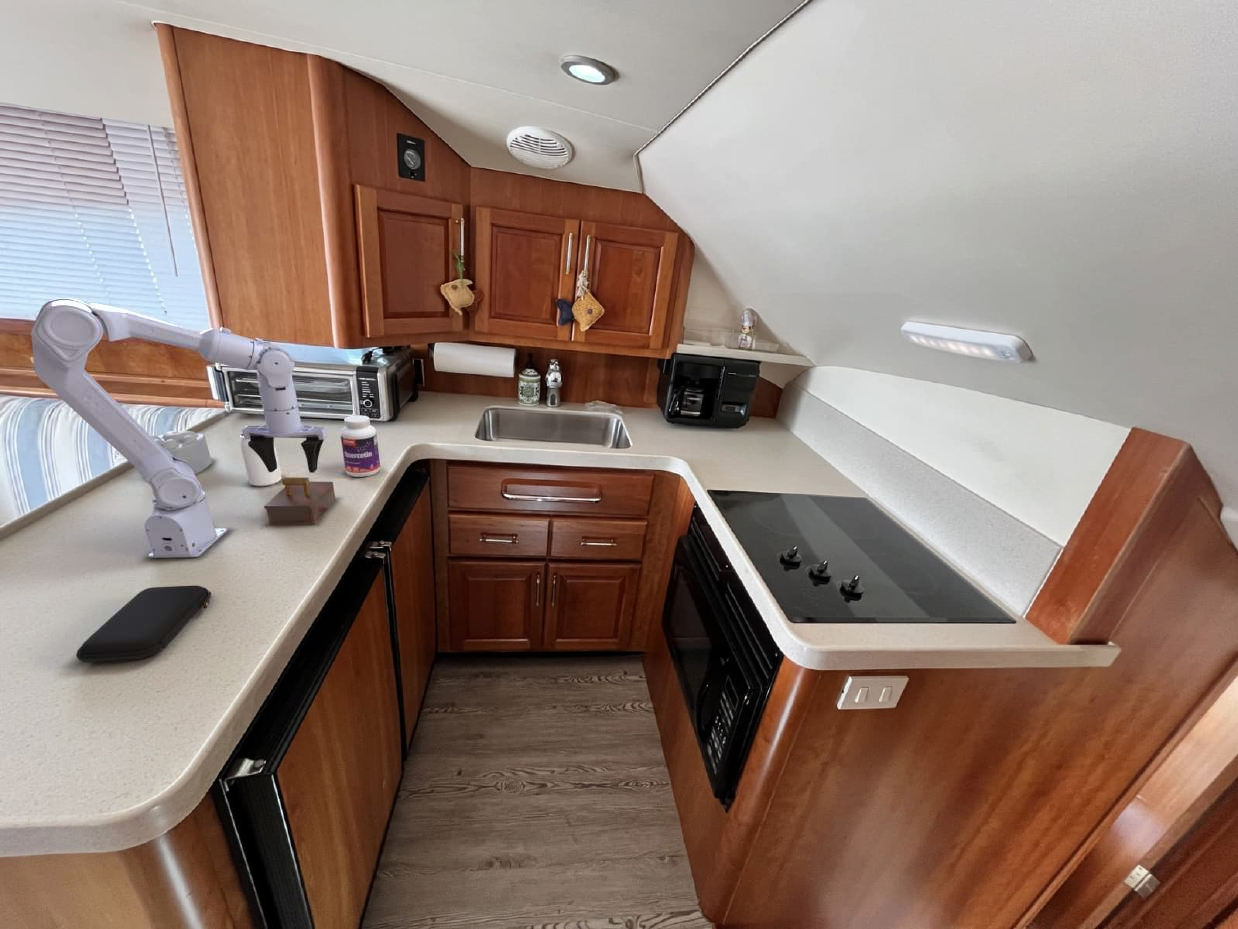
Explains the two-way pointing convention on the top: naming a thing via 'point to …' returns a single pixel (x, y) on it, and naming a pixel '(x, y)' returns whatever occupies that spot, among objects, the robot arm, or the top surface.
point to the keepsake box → (302, 511)
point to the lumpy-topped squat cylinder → (186, 448)
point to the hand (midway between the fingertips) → (293, 470)
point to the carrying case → (144, 624)
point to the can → (258, 466)
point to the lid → (298, 494)
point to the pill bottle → (360, 447)
